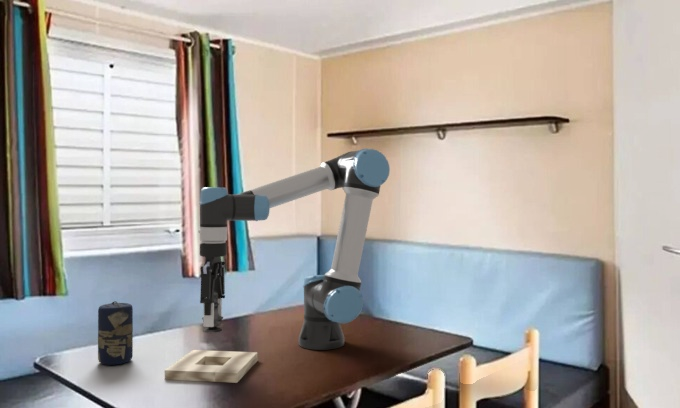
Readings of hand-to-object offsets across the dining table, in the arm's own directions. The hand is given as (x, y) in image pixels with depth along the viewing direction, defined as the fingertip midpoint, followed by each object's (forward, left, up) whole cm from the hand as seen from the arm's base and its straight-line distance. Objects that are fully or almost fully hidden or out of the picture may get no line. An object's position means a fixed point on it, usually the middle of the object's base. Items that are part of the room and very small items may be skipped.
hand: (212, 323), depth 161 cm
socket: (0, 0, -13) cm, 13 cm away
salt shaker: (0, 0, -2) cm, 2 cm away
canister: (+31, -3, -13) cm, 34 cm away
